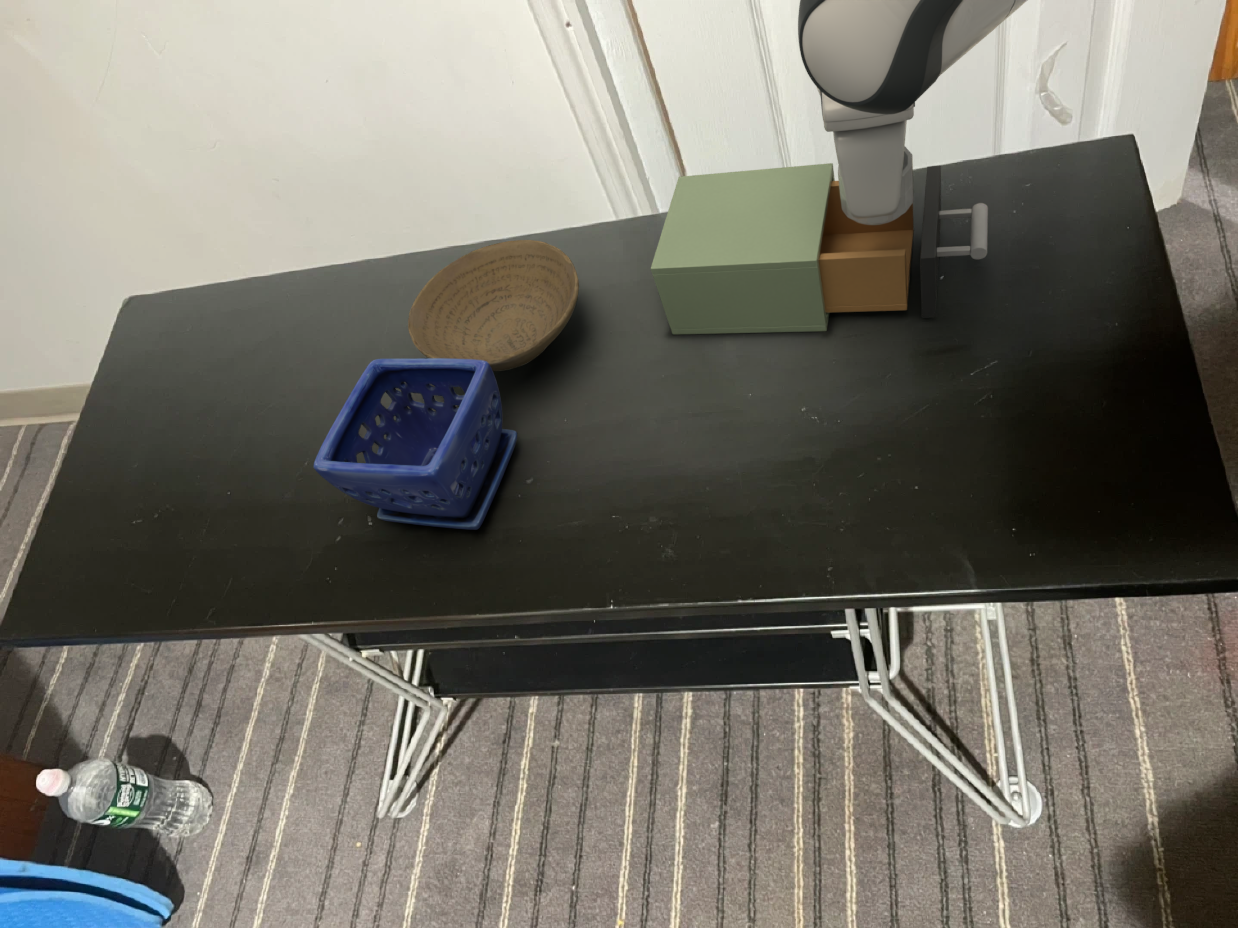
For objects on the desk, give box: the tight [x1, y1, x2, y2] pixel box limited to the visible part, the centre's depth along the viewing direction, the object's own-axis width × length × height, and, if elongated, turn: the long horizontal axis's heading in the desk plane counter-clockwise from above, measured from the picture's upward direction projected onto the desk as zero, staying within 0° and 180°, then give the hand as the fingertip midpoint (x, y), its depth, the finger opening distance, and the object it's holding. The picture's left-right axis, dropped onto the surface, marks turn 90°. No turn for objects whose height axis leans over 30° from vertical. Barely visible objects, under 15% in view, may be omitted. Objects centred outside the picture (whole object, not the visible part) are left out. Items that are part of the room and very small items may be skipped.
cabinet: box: [650, 162, 836, 335], centre depth 89 cm, size 16×14×9 cm
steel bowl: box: [837, 146, 915, 225], centre depth 79 cm, size 6×6×4 cm
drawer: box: [818, 165, 989, 319], centre depth 84 cm, size 19×12×7 cm, turn 76°
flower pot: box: [313, 357, 518, 531], centre depth 83 cm, size 13×13×12 cm
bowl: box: [407, 239, 580, 372], centre depth 94 cm, size 18×18×8 cm
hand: (877, 189), depth 79 cm, fingers closed on steel bowl, 6 cm apart
